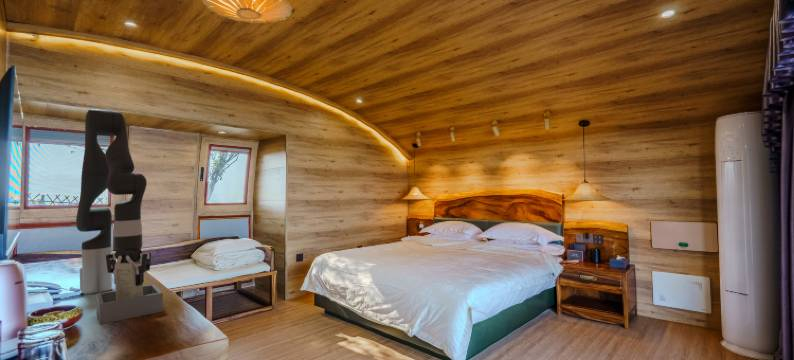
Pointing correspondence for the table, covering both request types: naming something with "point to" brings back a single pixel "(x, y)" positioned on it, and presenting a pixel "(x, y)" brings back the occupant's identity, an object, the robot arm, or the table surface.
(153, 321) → the table surface
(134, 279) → the skincare box
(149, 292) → the walled box
